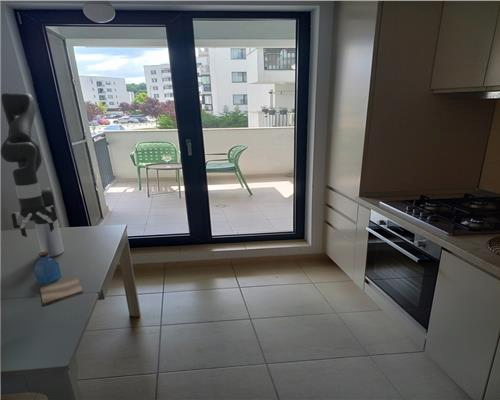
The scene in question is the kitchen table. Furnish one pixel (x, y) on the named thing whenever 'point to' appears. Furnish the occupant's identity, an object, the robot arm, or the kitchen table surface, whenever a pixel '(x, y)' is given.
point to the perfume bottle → (46, 269)
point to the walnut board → (60, 290)
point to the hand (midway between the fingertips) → (38, 233)
